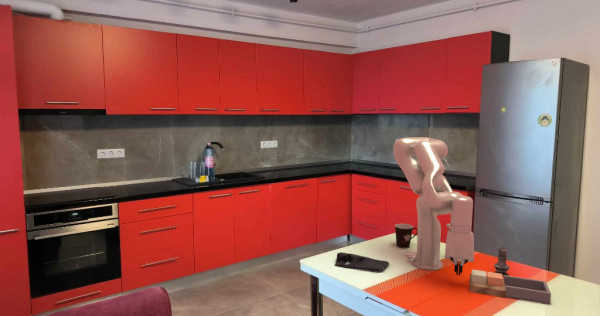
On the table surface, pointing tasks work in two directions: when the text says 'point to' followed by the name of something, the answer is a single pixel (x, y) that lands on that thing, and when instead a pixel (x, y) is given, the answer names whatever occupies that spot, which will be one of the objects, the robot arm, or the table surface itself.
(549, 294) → the box
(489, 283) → the salmon orange block
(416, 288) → the table surface
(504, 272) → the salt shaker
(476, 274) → the cream white block
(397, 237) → the coffee mug
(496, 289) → the board
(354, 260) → the dark slate chunk
